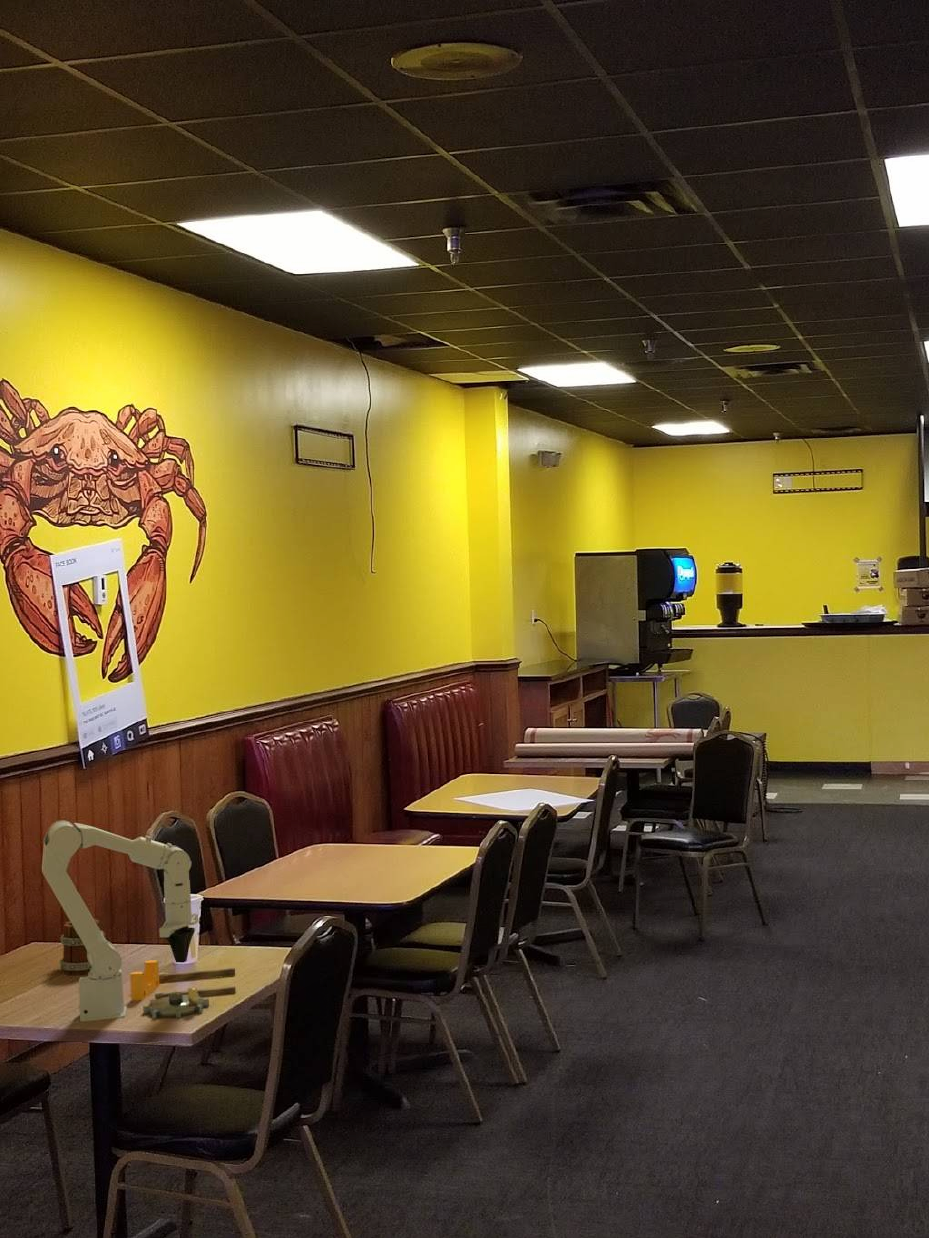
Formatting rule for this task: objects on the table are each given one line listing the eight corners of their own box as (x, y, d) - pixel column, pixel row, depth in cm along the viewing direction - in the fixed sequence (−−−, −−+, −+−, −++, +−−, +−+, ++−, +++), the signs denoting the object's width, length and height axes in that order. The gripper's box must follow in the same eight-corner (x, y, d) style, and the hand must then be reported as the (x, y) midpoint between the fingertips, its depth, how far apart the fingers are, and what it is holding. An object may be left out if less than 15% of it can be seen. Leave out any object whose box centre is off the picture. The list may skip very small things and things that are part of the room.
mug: (71, 978, 350) (63, 916, 351) (50, 977, 361) (43, 917, 363) (116, 968, 357) (109, 907, 359) (94, 968, 368) (87, 909, 370)
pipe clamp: (141, 987, 339) (140, 960, 339) (159, 987, 339) (158, 960, 339) (124, 1002, 327) (122, 974, 327) (142, 1002, 327) (141, 973, 327)
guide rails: (155, 1001, 326) (154, 993, 326) (159, 981, 344) (158, 973, 344) (235, 994, 329) (235, 985, 328) (235, 973, 346) (234, 965, 346)
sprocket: (129, 1015, 315) (128, 992, 315) (173, 997, 327) (172, 975, 327) (179, 1021, 308) (178, 998, 308) (222, 1003, 320) (221, 981, 320)
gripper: (178, 908, 315) (181, 970, 315) (208, 894, 329) (211, 953, 329) (149, 908, 317) (153, 969, 317) (180, 894, 331) (184, 953, 331)
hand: (181, 961), depth 323 cm, fingers closed
